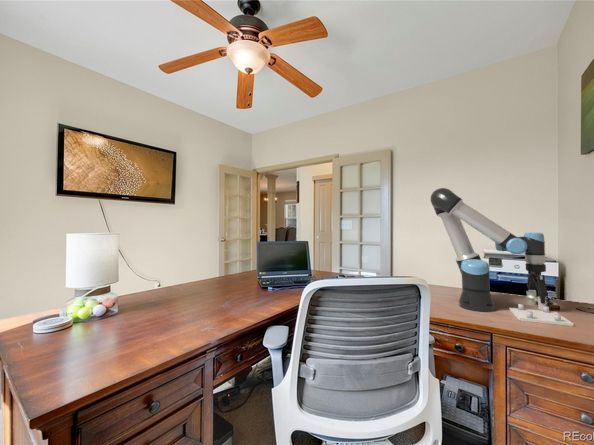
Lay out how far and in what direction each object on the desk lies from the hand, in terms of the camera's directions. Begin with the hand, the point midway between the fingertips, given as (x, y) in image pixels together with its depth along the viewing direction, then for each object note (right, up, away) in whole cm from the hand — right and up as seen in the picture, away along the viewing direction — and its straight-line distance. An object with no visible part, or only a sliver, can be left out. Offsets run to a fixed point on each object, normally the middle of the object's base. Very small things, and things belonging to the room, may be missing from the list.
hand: (537, 306), depth 131 cm
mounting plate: (-13, 0, -15) cm, 20 cm away
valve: (0, -1, 0) cm, 1 cm away
